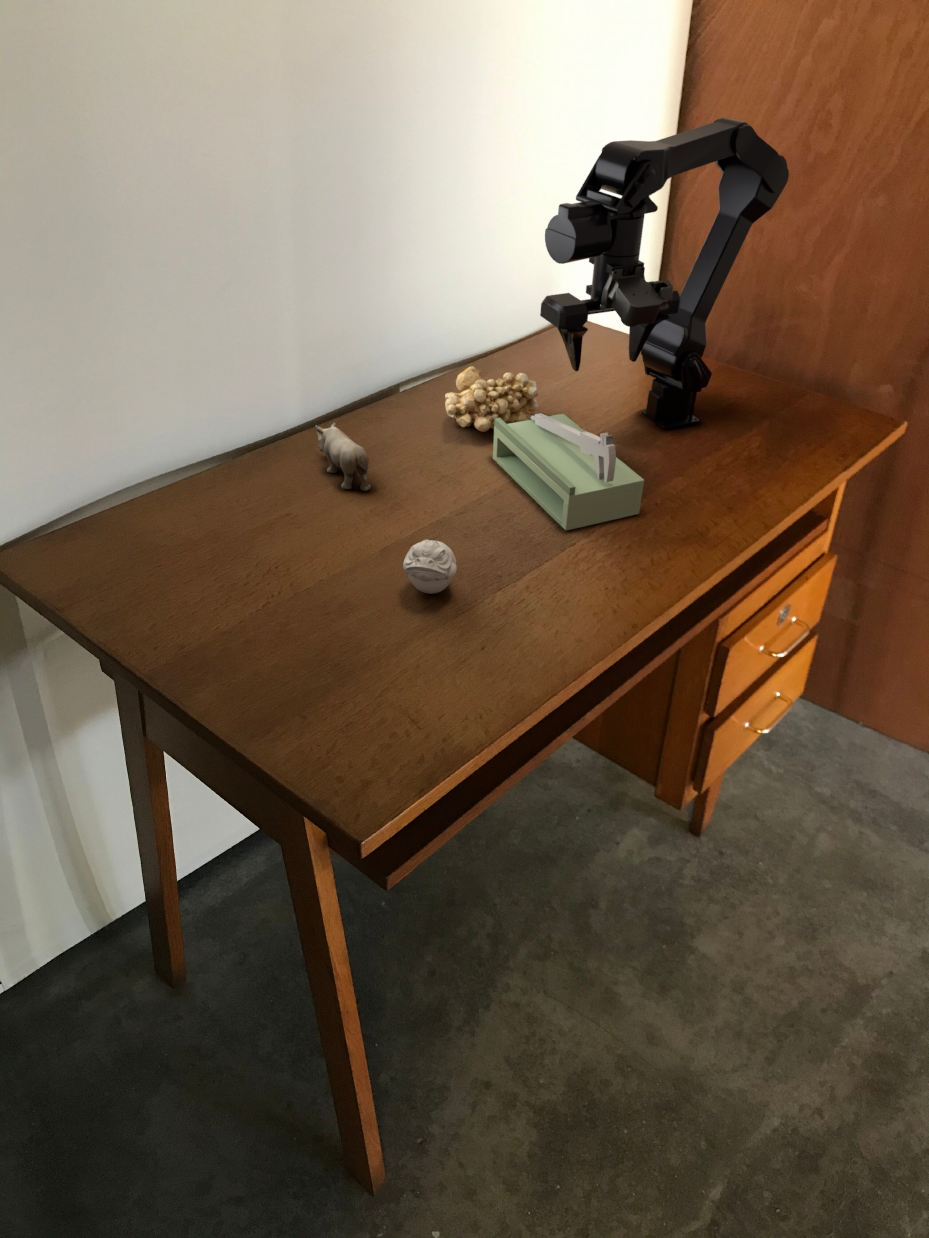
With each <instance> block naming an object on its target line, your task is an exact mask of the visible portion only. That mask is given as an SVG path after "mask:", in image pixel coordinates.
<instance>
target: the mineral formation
mask: <svg viewBox="0 0 929 1238" xmlns="http://www.w3.org/2000/svg"><path fill="white" fill-rule="evenodd" d="M482 373H483V372H482V371H481V370H479V369H477V368H476V367H475V366H473V365H471V366H469V367H467V368H465V369H464V370H463V371H462V372H460V373H458V375H457V378H456V380H455V387H456V388H457V390H458V393H457V392H453V391H451V392H446V393H445V395H444V398H445V399H444V400H445V402H444V407H445V411H446V413H447V415H448V417H451V418H452V419H455V421H456V423H457V425H458V426H460V427H462V428H466V427H467V428H470V427H471V426H472V424H473V426H474V428H475V429H476V430H478V431H479V432H483V433H485V432H487V431H489V430H494V422H495V418H501V419H502V420H503V421H504V422H505V423H506V424H510V423H515V422H521V421H526V420H531V418H530V417H531V416H533V415H532V413H534V412H536V411H537V410H538V408H539V406H540V405H539V403H538V400H536V398H535V397H539V391H538V388H537V382H536V381H534V380H531V379H529V378H528V377H529V376H528V375H527V374H526V373H525V372H519V373H517V374H516V375H514V373H512V372H505V373H503V376H502V378H500V377H498V378H497V379H496V380H494V379H493V378H489V379H488V380H485V379H483V378H481V376H482Z"/></svg>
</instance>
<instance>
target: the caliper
mask: <svg viewBox="0 0 929 1238" xmlns="http://www.w3.org/2000/svg"><path fill="white" fill-rule="evenodd" d="M530 420H535V424H536V425H537V426H540V427H542V428H544V429H546V430H548V431H550V432H552V433H554V434H556V435H558V436H560V437H562V438H564V439H566V440H568V441H570V442H572V443H574V444H576V445H578V446H580V452H581V453H585V455H593V456H594V461H595V467H596V473H597V477H598V479H599V480H600V479H604V482H605V483H606V482H610V481H613V479H614V472H615V464H616V457H617V455H616V453H617V452H616V444H614V440H613V439H614V438H613V436H614V434H609V432H603V433H600V434H599V436H598V435H596V434H594V433H592V432H589V431H586V430H585V432H580V431H578V430H576V429H574V428H572V427H570V426H568V425H565V424H563V423H561V422H559V421H557V420H555V419H553V418H551V417H548V415H546V414H544V413H541V412H539V413H535V414H534V415H532V416H531V417H530Z"/></svg>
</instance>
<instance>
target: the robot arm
mask: <svg viewBox="0 0 929 1238" xmlns="http://www.w3.org/2000/svg"><path fill="white" fill-rule="evenodd" d="M712 163H715V165H716V167H717V168H718V169H719V171H720V172H721V178H720V180H719V184H718V188H717V189H718V204H719V205H718V206H719V207H718V208H719V209H718V212H717V214H716V216H715V219H714V220H713V223H712V225H711V227H710V229H709V231H708V234H707V236H706V238H705V240H704V242H703V245H702V247H701V249H700V251H699V253H698V256H697V257H696V259H695V262H694V264H693V266H692V268H691V270H690V272H689V275H688V277H687V279H686V281H685V283H684V285H683V288H682V289H681V292H680V293H679V292H678V290H677V289H676V288H674V286H673V285H672V283H671V282H670V281H669V280H668V279H667V280H654V281H653V280H651V281H647V280H646V277H645V271H646V268H645V262H643V261H641V260H640V253H641V245H642V239H643V230H644V222H645V215H647V214H651V213H652V214H653V213H656V212H657V211H658V209H659V207H658V205H657V204H656V203H655V202H654V201H653V200H652V199H651V197H650V196H652V195H653V194H655V193H657V192H659V191H660V190H662V189H663V187H664V186H665V185H666V183H667V181H668V180H670V179H671V178H672V177H674V176H677V175H680V174H683V173H685V172H689V171H691V170H695V169H697V168H701V167H703V166H706V165H709V164H712ZM789 177H790V170H789V168H788V162H787V159H786V158H785V157H784V155H781V154H779V152H778V151H777V150H776V149H775V148H774V147H772V146H771V145H770V144H769V143H767V142H766V140H764V139H763V138H761V137H760V136H759V135H758V133H757V132H756V130H755V129H754V128H753V126H751V125H750V123H748V122H747V121H744V120H743V121H742V120H738V119H733V118H729V117H720V118H717V119H716V120H714V121H713V122H710V123H707V124H705V125H702V126H698V127H694V128H692V129H689V130H686V131H683V132H682V131H681V132H680V133H676V134H673V135H670V136H666V137H664V138H660V139H658V140H650V141H649V140H633V139H632V140H631V139H630V140H614V141H610V142H609V143H607V144H605V145H604V146H603V147H602V148H601V153H600V154H599V156H598V158H597V159H596V160H595V162H594V164H593V166H592V168H591V169H590V171H589V173H588V175H587V176H586V178H585V180H584V182H583V183H582V185H581V187H580V189H579V190H578V192H577V194H576V195H575V200H576V201H577V202H574V203H571V202H570V203H569V202H565V203H560V204H558V209H557V210H558V211H557V214H555V215H553V217H552V218H551V219H550V220H549V222H548V223H547V227H546V228H545V230H544V243H545V247H546V251H547V253H548V255H549V257H550V258H551V259H552V260H553V261H554V262H555V263H557V264H561V265H563V264H564V265H565V264H569V263H573V262H578V261H583V260H587V259H588V263H590V264H591V265H593V270H592V280H591V284H587V285H585V286H586V287H585V294H587V295H588V296H590V298H589V299H588V298H587V299H579V298H578V297H576V296H575V295H573V294H571V293H570V292H565V293H557V294H549V295H546V296H545V297H544V298H543V300H542V302H541V303H540V312H539V316H540V317H541V318H543V319H544V320H545V321H547V322H549V323H550V324H551V325H552V326H554V327H555V328H557V330H558V332H559V335H560V336H561V339H562V342H563V344H564V348H565V350H566V354H567V357H568V359H569V363H570V365H571V369H572V371H574V372H579V370H580V367H581V363H582V362H581V361H582V349H583V339H584V338H583V337H584V336H585V334H586V333H587V332H588V331H589V328H588V327H586V326H585V324H586V323H587V322H588V320H589V315H596V314H604V313H609V312H615V313H616V314H617V315H618V317H619V319H620V322H621V323H622V324H623V325H624V326H626V327H629V329H628V331H629V332H628V333H629V335H628V356H629V360H630V362H632V363H636V361H637V360H638V358H639V356H640V355H641V357H642V358H641V359H642V362H643V367H644V373H645V375H646V376H650V377H653V379H652V381H651V388H650V389H649V391H648V396H647V402H646V408H645V409H642V410H641V414H642V415H643V416H645V418H647V419H648V420H649V421H651V422H652V423H654V424H655V425H657V426H658V427H659V428H661V429H662V430H670V429H677V428H682V427H686V426H691V425H697V424H699V423H700V419H699V418H697V417H696V416H695V415H694V412H695V406H696V400H697V394H698V393H700V392H702V389H705V388H707V387H708V385H709V383H710V380H711V377H712V375H713V372H712V370H711V369H710V368H709V367H708V365H707V364H706V362H705V361H704V360H703V355H704V353H705V350H706V348H707V332H706V331H707V330H706V328H707V327H706V323H707V320H708V318H709V315H710V314H711V311H712V309H713V308H714V305H715V303H716V301H717V299H718V297H719V295H720V293H721V290H722V289H723V286H724V284H725V283H726V280H727V278H728V276H729V274H730V272H731V270H732V268H733V265H734V263H735V261H736V259H737V257H738V255H739V253H740V252H741V251H740V250H741V249H742V246H743V245H744V242H745V240H746V238H747V236H748V234H749V232H750V229H751V227H753V224H754V223H756V222H757V221H758V220H759V219H761V217H763V216H764V215H765V214H767V213H768V212H770V211H771V210H772V209H773V208H774V206H775V204H776V202H777V201H778V199H779V198H780V196H781V195H782V193H783V191H784V190H785V187H786V186H787V184H788V182H789ZM601 190H603V191H605V192H603V191H601ZM606 192H609V193H612V194H609V193H606ZM613 194H616V195H618V196H621V197H618V196H615V195H613Z"/></svg>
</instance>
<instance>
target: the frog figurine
mask: <svg viewBox="0 0 929 1238" xmlns="http://www.w3.org/2000/svg"><path fill="white" fill-rule="evenodd" d="M402 569H403V571H404V573H405V574H407V579H408V581H409V582H410V583H411V584H412V585H413V586H414V588H416V589H417V591H419V592H422V593H424V594H430V595H433V594H438V593H440V592H442V591H443V590H445V589H446V588H447V587H448V586H449V585H450V584H451V581H452V579H454V577H455V576H456V574H457V569H458V566H457V559H456V556H455V554H454V552H453V551H452V549H451V548H450V547H449V546H448V545H446V544H445V543H444V542H442V541H440V540H439V541H438V540H435V539H433V540H430V539H423V540H422V541H419V542H417V543H415V544H413V545H412V546H411V547H410V548H409V550H408V552H407V553H406V555H405V558H404V560H403V563H402Z"/></svg>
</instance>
